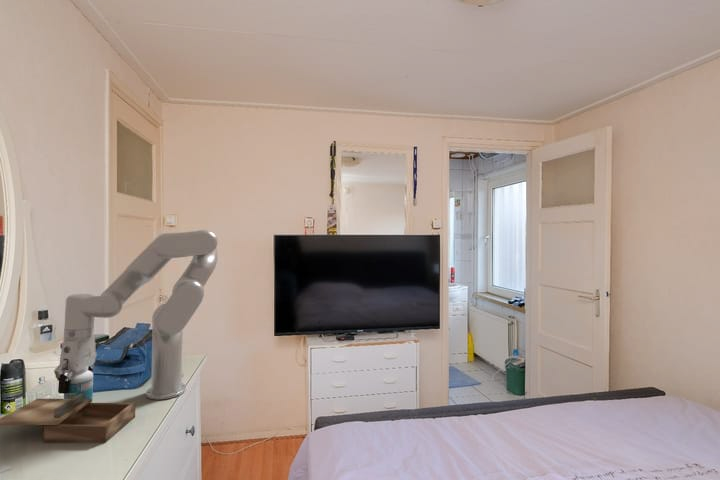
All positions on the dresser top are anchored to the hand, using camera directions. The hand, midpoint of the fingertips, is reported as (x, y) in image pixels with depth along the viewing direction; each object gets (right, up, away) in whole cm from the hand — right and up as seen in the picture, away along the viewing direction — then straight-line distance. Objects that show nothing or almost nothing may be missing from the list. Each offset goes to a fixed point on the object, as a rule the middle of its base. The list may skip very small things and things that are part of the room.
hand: (75, 386), depth 117 cm
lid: (+1, -2, -13) cm, 13 cm away
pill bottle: (0, -7, 0) cm, 7 cm away
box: (+14, -7, -12) cm, 20 cm away
